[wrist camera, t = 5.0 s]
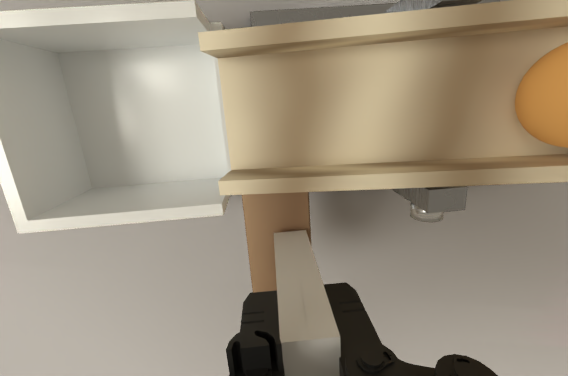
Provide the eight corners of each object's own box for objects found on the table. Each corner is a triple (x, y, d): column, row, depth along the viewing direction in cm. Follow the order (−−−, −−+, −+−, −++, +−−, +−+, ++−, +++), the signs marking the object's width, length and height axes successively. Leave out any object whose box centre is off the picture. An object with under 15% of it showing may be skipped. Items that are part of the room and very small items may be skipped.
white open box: (49, 44, 17) (-58, 14, 11) (226, 33, 18) (209, -1, 12) (89, 195, 20) (17, 233, 14) (243, 182, 20) (235, 214, 14)
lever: (250, 281, 17) (236, 319, 14) (222, 47, 13) (197, 32, 10) (609, 279, 15) (681, 323, 12) (682, 3, 11) (808, -30, 8)
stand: (266, 193, 21) (269, 252, 12) (250, 14, 18) (240, -63, 9) (504, 172, 21) (653, 215, 13) (527, -2, 18) (740, -87, 10)
